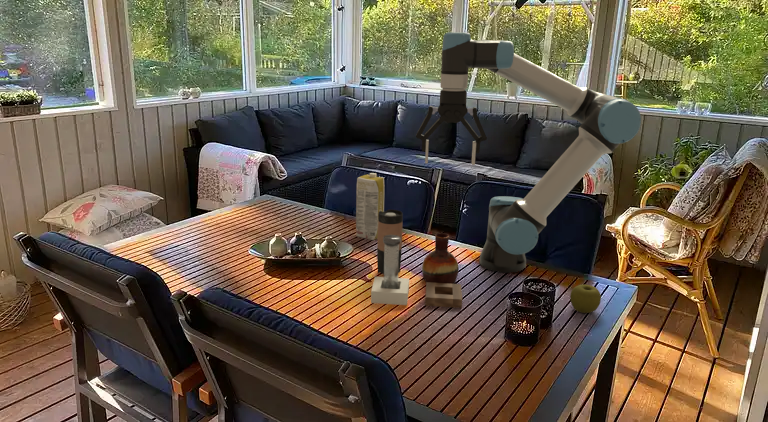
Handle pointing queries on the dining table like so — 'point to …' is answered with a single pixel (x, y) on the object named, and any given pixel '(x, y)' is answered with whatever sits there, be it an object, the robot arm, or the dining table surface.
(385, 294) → the socket
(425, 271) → the vase
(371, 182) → the juice carton
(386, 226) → the travel mug
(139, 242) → the dining table surface
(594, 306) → the apple
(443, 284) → the mount
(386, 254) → the pin
